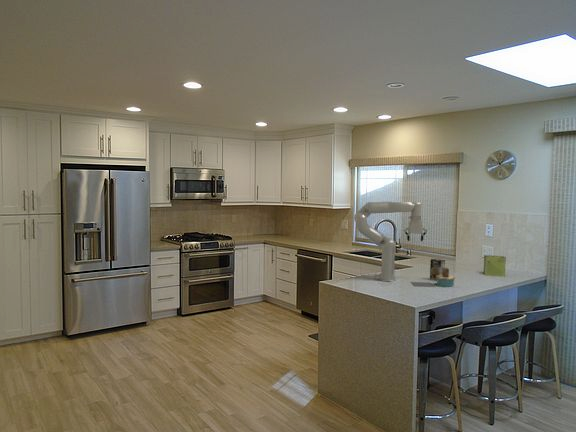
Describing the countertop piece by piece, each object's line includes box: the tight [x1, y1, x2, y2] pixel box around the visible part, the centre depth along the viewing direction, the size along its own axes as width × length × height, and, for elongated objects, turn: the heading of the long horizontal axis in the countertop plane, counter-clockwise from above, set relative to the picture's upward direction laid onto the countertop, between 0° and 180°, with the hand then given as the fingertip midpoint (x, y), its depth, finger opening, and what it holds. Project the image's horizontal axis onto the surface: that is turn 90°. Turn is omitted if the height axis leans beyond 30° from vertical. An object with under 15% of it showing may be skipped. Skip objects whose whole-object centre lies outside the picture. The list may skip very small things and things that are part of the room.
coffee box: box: [429, 258, 446, 282], centre depth 332 cm, size 9×6×16 cm
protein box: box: [483, 254, 507, 277], centre depth 360 cm, size 10×15×16 cm
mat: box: [409, 281, 436, 288], centre depth 315 cm, size 15×15×1 cm
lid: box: [436, 267, 456, 280], centre depth 313 cm, size 13×13×7 cm
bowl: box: [436, 278, 455, 288], centre depth 314 cm, size 11×11×6 cm
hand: (415, 240), depth 330 cm, fingers open, 9 cm apart
